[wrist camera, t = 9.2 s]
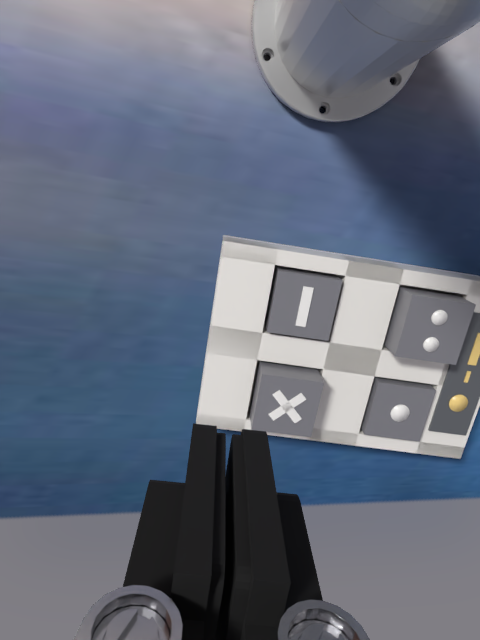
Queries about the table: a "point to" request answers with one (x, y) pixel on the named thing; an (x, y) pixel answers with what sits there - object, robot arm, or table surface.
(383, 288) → the keypad
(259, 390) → the cross key
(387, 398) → the dot key
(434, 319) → the pair key
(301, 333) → the bar key
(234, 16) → the table surface
